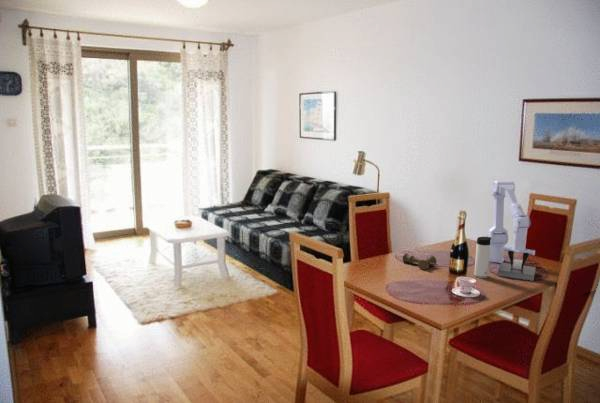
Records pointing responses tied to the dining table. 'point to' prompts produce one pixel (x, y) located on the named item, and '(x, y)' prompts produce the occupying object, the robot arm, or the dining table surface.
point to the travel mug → (482, 257)
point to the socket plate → (516, 272)
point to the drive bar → (517, 265)
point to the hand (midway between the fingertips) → (517, 266)
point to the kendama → (420, 261)
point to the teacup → (466, 287)
